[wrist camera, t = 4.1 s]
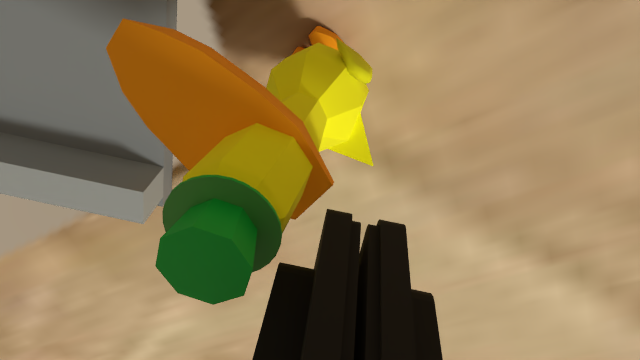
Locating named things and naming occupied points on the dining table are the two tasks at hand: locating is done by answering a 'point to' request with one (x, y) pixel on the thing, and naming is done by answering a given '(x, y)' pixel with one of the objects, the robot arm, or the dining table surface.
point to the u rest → (76, 109)
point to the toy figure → (239, 145)
